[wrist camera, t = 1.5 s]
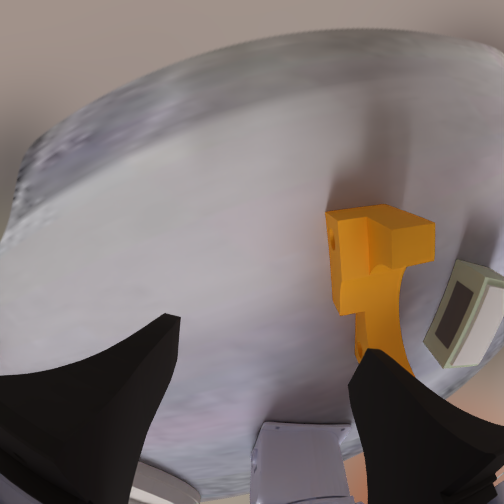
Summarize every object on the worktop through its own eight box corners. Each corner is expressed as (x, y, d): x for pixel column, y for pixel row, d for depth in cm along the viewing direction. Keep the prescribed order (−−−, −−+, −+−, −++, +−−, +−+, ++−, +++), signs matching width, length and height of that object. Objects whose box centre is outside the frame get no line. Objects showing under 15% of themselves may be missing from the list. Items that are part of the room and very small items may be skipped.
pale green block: (422, 342, 20) (444, 371, 16) (456, 258, 18) (488, 278, 14) (457, 342, 20) (479, 368, 16) (488, 267, 18) (518, 286, 14)
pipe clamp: (324, 211, 18) (356, 235, 11) (383, 203, 17) (435, 222, 11) (334, 357, 21) (352, 414, 15) (382, 346, 21) (411, 397, 15)
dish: (225, 490, 30) (222, 515, 26) (174, 510, 36) (170, 527, 31) (91, 431, 27) (78, 456, 23) (77, 465, 33) (69, 482, 28)
